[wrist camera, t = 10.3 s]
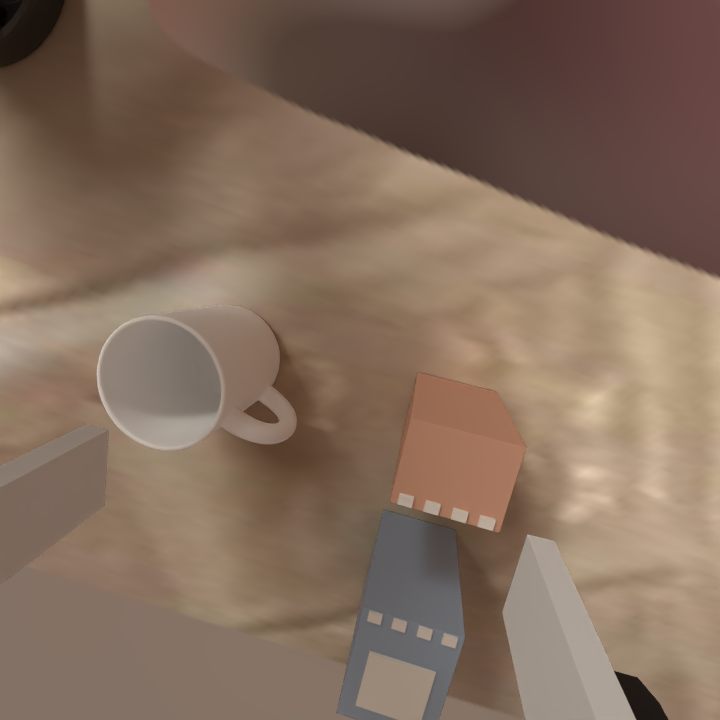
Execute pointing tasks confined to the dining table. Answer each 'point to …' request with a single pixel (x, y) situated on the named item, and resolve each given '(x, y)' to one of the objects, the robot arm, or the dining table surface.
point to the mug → (193, 377)
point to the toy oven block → (406, 624)
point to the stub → (457, 453)
